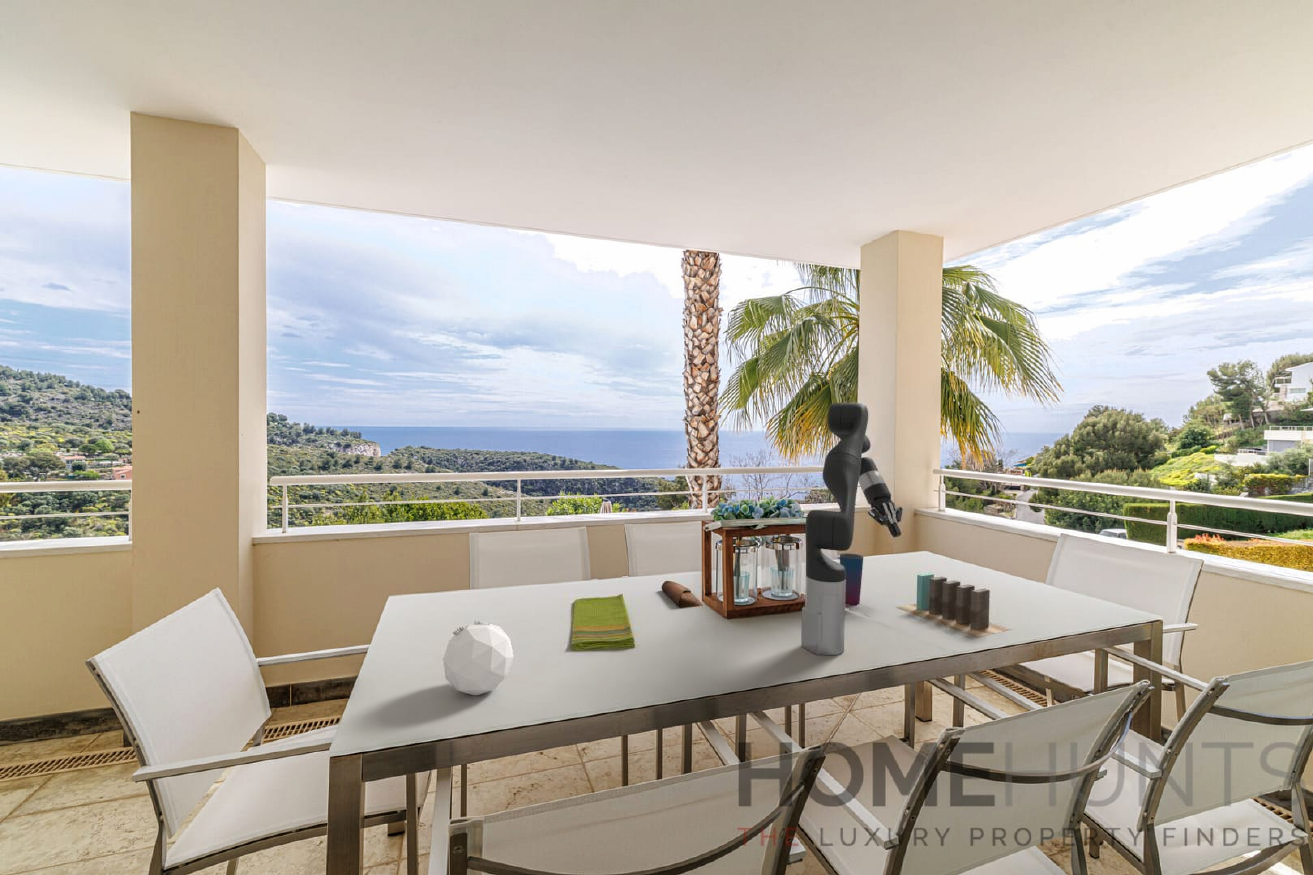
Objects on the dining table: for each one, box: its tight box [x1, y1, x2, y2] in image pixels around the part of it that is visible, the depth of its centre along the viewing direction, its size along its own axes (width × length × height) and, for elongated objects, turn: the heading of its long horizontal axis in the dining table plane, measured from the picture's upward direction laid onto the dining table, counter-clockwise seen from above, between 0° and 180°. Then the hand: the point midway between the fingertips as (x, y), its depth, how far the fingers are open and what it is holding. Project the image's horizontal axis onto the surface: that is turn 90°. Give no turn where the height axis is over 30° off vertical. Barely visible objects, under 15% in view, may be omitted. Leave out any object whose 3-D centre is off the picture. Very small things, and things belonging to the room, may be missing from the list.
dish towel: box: [570, 593, 636, 651], centre depth 148 cm, size 15×36×3 cm, turn 8°
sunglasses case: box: [661, 580, 704, 609], centre depth 171 cm, size 18×7×7 cm, turn 16°
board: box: [895, 603, 1012, 638], centre depth 153 cm, size 14×25×1 cm, turn 25°
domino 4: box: [956, 583, 976, 625], centre depth 149 cm, size 5×2×10 cm, turn 115°
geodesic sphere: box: [442, 620, 515, 696], centre depth 109 cm, size 14×14×14 cm
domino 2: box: [929, 576, 948, 615], centre depth 157 cm, size 5×2×10 cm, turn 115°
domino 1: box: [916, 572, 935, 610], centre depth 161 cm, size 5×2×10 cm, turn 115°
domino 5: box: [971, 588, 991, 630], centre depth 146 cm, size 5×2×10 cm, turn 115°
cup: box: [839, 553, 864, 608], centre depth 166 cm, size 7×7×15 cm
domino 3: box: [942, 580, 961, 620], centre depth 153 cm, size 5×2×10 cm, turn 115°
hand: (897, 536), depth 171 cm, fingers closed
